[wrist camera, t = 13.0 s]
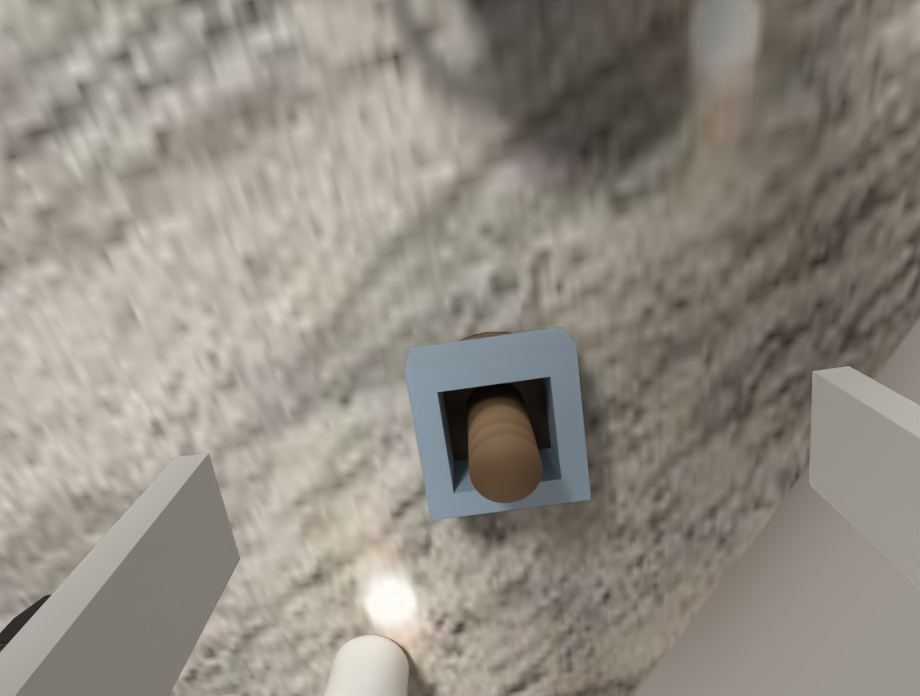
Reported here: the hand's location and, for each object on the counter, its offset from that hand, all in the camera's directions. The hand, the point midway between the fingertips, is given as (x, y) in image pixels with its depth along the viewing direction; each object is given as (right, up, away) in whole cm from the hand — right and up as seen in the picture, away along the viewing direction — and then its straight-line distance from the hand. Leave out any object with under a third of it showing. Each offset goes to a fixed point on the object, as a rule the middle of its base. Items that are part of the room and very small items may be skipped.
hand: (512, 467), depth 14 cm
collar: (+1, -1, +24) cm, 24 cm away
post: (+1, -1, +25) cm, 25 cm away
